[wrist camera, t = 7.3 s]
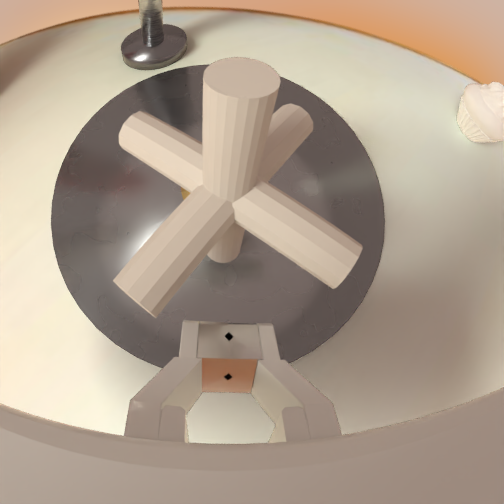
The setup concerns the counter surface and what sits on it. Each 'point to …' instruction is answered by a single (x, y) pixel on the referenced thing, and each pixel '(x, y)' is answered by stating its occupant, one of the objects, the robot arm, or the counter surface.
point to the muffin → (482, 112)
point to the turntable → (208, 271)
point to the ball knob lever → (153, 40)
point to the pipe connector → (229, 186)
